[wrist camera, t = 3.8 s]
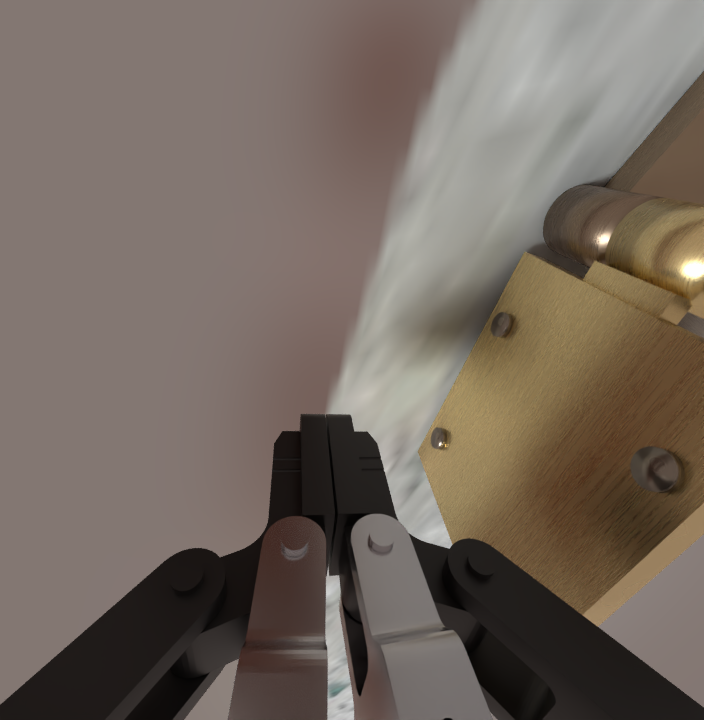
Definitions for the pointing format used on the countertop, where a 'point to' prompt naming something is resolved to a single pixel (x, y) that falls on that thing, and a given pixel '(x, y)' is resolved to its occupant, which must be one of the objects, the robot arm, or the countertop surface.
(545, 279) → the plate
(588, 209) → the hinge mount
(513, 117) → the countertop surface
